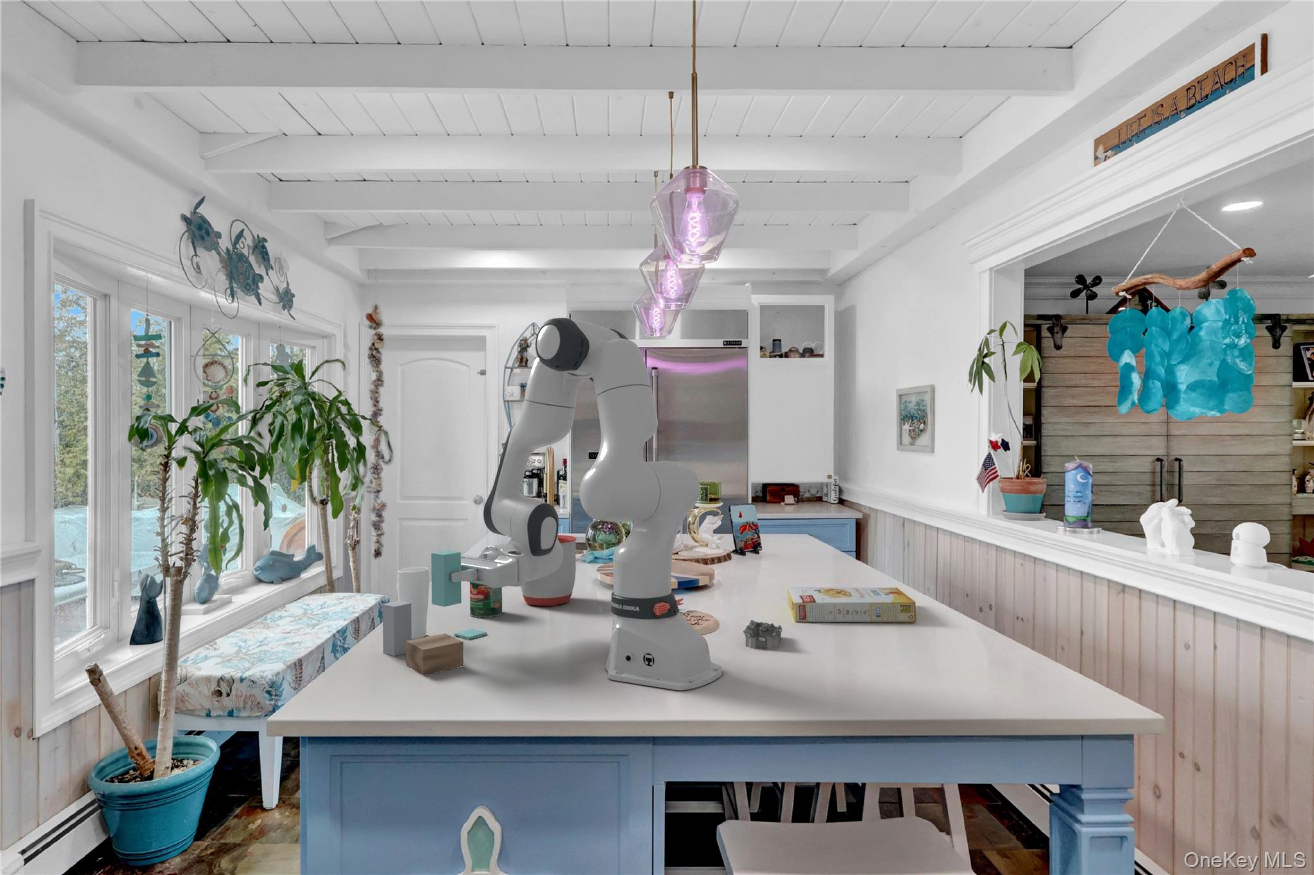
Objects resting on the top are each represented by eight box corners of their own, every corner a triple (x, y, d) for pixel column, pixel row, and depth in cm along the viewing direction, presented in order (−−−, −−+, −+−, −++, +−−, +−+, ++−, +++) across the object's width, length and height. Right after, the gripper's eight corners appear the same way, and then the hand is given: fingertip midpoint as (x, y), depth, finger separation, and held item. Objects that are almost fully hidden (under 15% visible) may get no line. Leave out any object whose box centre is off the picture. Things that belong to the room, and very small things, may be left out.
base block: (463, 667, 141) (463, 641, 141) (423, 676, 136) (422, 649, 136) (445, 658, 148) (445, 633, 148) (406, 666, 142) (406, 640, 142)
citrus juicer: (529, 594, 206) (528, 522, 206) (586, 597, 201) (585, 524, 201) (500, 606, 192) (500, 529, 192) (561, 610, 186) (560, 531, 186)
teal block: (461, 602, 145) (460, 552, 145) (444, 606, 142) (443, 554, 142) (449, 600, 147) (448, 550, 147) (431, 604, 144) (431, 553, 144)
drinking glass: (403, 642, 158) (402, 573, 158) (393, 636, 163) (393, 568, 163) (434, 637, 162) (433, 569, 162) (423, 631, 167) (423, 565, 167)
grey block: (411, 651, 152) (411, 603, 152) (394, 656, 148) (393, 606, 148) (400, 648, 154) (400, 600, 154) (383, 652, 151) (382, 604, 151)
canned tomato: (506, 610, 187) (506, 567, 187) (496, 618, 179) (496, 573, 179) (476, 610, 188) (475, 567, 188) (465, 617, 180) (464, 572, 180)
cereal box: (917, 600, 170) (794, 599, 172) (917, 625, 170) (794, 623, 172) (896, 585, 190) (785, 584, 193) (896, 606, 190) (786, 605, 192)
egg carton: (777, 652, 150) (777, 632, 150) (741, 648, 152) (740, 629, 152) (785, 638, 160) (784, 619, 160) (750, 635, 163) (750, 616, 163)
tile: (487, 634, 164) (486, 632, 164) (468, 639, 160) (468, 637, 160) (472, 631, 167) (472, 628, 167) (454, 636, 163) (454, 633, 163)
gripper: (467, 546, 161) (411, 555, 150) (530, 555, 148) (474, 565, 137) (467, 575, 161) (411, 585, 150) (530, 586, 148) (475, 598, 137)
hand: (442, 576), depth 144 cm, fingers closed on teal block, 4 cm apart
